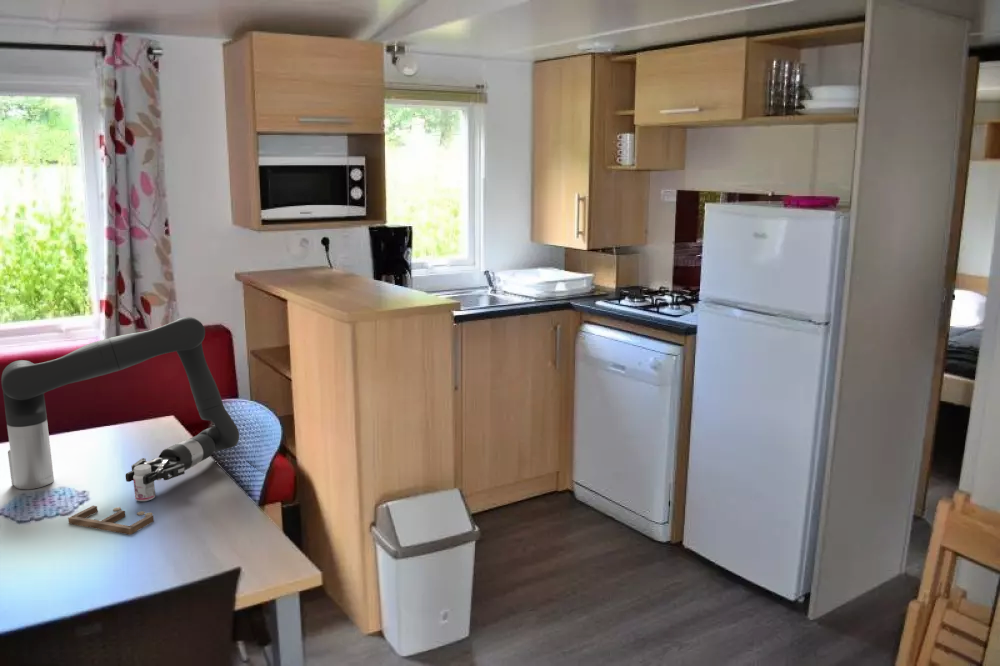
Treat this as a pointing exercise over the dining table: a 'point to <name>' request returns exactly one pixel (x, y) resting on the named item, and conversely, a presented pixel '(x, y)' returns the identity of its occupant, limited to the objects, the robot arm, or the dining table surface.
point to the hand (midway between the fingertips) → (135, 479)
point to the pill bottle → (141, 489)
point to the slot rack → (110, 521)
